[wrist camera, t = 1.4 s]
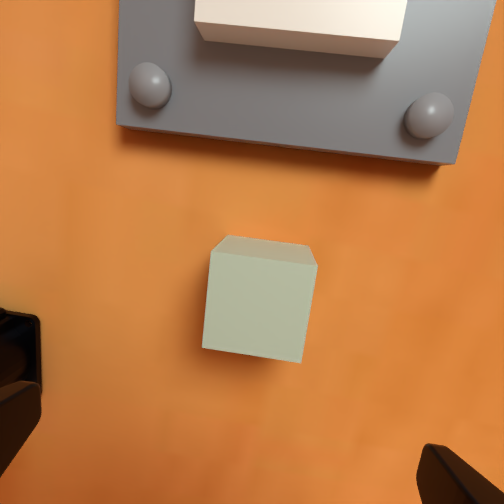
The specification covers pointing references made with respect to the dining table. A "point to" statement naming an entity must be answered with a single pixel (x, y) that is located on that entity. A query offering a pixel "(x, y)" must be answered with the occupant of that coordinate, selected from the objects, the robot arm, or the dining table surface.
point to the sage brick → (259, 298)
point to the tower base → (305, 72)
